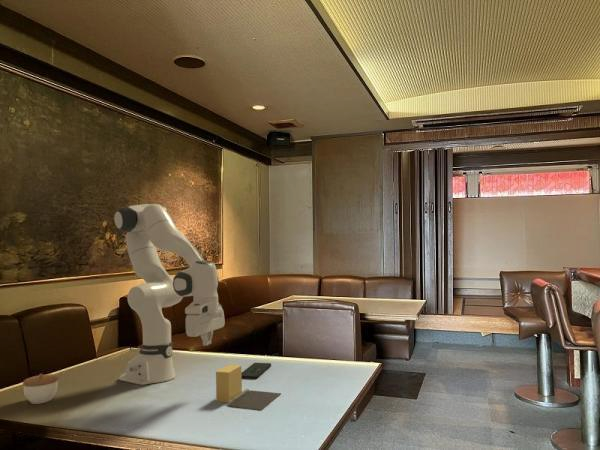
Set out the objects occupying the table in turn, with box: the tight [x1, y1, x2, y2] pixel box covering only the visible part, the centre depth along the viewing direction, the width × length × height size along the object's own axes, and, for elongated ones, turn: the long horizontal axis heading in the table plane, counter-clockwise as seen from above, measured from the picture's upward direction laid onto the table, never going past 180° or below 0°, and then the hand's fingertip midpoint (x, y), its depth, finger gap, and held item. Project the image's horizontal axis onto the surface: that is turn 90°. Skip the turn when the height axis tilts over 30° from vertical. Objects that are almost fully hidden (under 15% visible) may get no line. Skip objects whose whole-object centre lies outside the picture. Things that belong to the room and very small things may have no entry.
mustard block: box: [215, 364, 243, 403], centre depth 154 cm, size 5×9×10 cm, turn 160°
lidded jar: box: [22, 373, 59, 405], centre depth 155 cm, size 11×11×9 cm
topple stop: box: [226, 388, 282, 411], centre depth 150 cm, size 13×16×1 cm
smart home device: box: [241, 362, 272, 380], centre depth 184 cm, size 8×2×20 cm
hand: (207, 344), depth 157 cm, fingers closed
